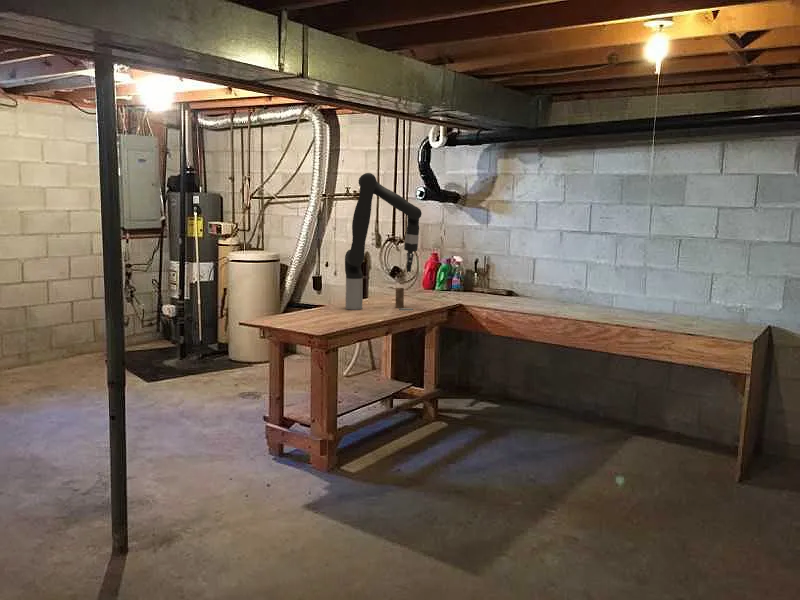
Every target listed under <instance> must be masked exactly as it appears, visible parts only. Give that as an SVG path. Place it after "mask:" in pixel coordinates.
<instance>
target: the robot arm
mask: <svg viewBox="0 0 800 600" xmlns="http://www.w3.org/2000/svg"><path fill="white" fill-rule="evenodd" d="M358 186H359V195H358V199H357V202H356V206H355V209H354V212H353V217H352V223H351V230H352V233H351V234H352V241H351V246H350V249H348V250H347V251H346V253H345V255H344V273H345V310H354V311H356V310H357V311H358V310H363V290H364V289H363V286H364V285H363V284H364V283H363V278H364V277H363V275H364V274H363V271H362V264H363V262H364V261H365V250H366V241H367V235H368V231H369V228H370V227H369V225H370V220H371V214H372V206H373V205H372V203H373V202H372V201H373V196H374V195H376V196H377V197H378V198H380V199H382V200H383V201H384V202H386V203H388V204H389V205H391V206H392V207H394V209H396V210H398V211H399V212H402V213H403V214H405V216H406V217H407V219H406V221H407V225H406V233H405V236H404V245H403V246H404V247H403V248H404V249H403V250H404V251H407V253H406V272H408V273H411V271H412V266H413V262H414V255H415V254H414V253H413V252H417V251H418V246H419V235H420V233H419V232H420V224H419V223H420V218H421V217H422V214H423V213H422V210H421V208H419V207H418V206H416V205H414V204H412V203H410V202H409V201H408V200H407V199H405V198H404V197H403V196H401V195H399V194H398V193H396V192H394V191H393V190H390V189H388V188H387V187H385V186H383V185H382V184H380V183H379V181H378V180H377V177H376V176H375V175H374V174H373V173H371V172H365V173H363V174H362V175H360V177H359V178H358Z"/></svg>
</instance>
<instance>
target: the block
mask: <svg viewBox="0 0 800 600" xmlns="http://www.w3.org/2000/svg"><path fill="white" fill-rule="evenodd" d="M404 294H405V289H404V287H395V307H394V308H395V309H399V308H405V307H404V305H405V304H404V303H405V301H404V300H405V299H404V298H405V295H404Z"/></svg>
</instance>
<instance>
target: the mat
mask: <svg viewBox="0 0 800 600" xmlns="http://www.w3.org/2000/svg"><path fill="white" fill-rule="evenodd" d="M398 311H401V312H403V311H404V312H405V311H406V312H407V311H408V312H411V311H412V312H414V308H411V307H409V308H407V307H404V308H398Z"/></svg>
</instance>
